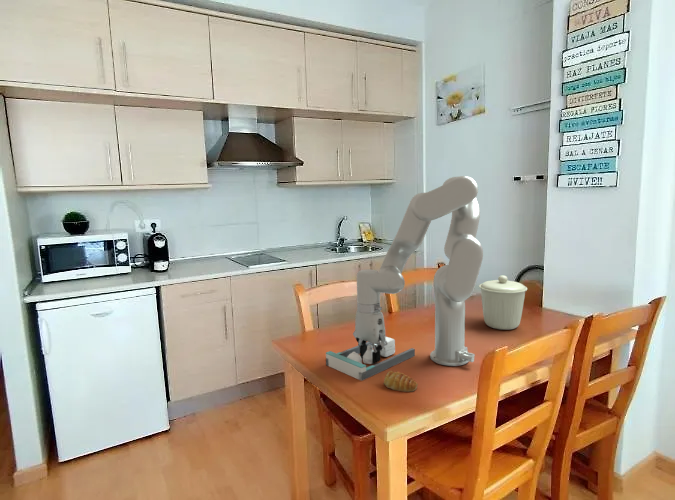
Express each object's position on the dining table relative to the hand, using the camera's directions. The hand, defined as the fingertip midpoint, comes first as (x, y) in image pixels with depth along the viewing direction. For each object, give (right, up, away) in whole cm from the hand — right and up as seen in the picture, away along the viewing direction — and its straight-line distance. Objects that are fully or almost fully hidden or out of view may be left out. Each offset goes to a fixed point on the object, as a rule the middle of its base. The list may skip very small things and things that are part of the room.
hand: (370, 359), depth 138 cm
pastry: (+7, -3, -18) cm, 19 cm away
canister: (+56, +5, +31) cm, 64 cm away
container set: (0, -1, 0) cm, 1 cm away
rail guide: (0, -1, +1) cm, 1 cm away
